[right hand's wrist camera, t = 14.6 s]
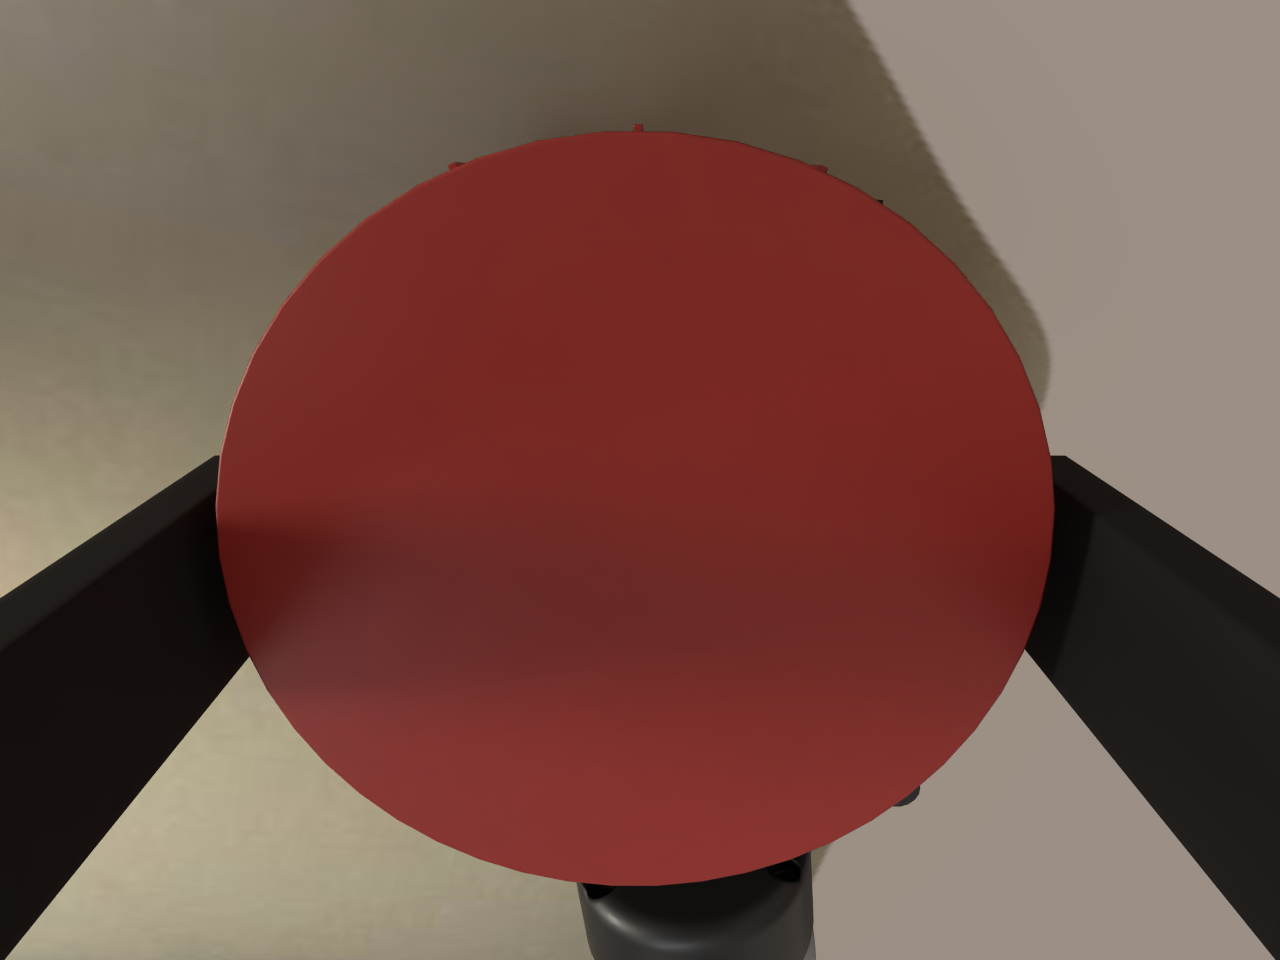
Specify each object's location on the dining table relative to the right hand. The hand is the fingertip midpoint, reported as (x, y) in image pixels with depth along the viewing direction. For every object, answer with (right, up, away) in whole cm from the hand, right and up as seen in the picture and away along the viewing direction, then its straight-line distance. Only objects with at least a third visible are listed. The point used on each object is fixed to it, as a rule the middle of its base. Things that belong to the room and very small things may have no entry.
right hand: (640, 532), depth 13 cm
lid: (0, 0, -2) cm, 2 cm away
